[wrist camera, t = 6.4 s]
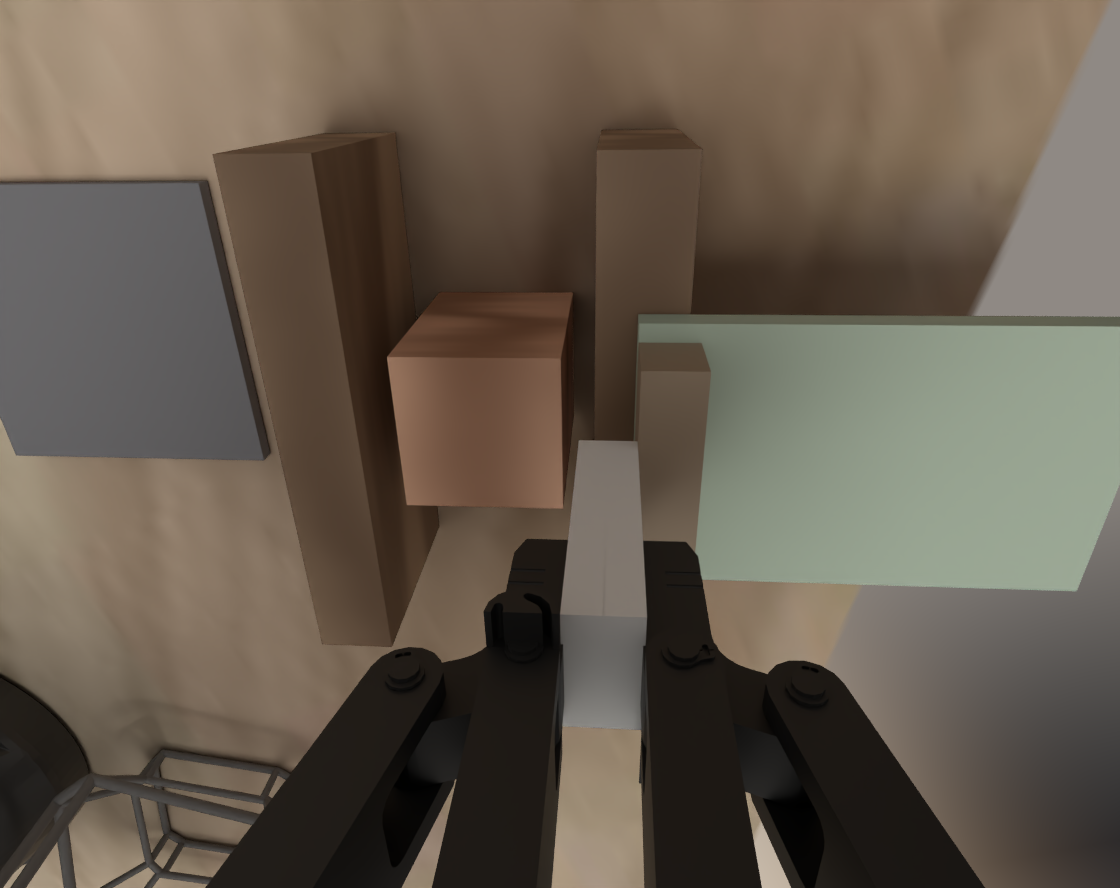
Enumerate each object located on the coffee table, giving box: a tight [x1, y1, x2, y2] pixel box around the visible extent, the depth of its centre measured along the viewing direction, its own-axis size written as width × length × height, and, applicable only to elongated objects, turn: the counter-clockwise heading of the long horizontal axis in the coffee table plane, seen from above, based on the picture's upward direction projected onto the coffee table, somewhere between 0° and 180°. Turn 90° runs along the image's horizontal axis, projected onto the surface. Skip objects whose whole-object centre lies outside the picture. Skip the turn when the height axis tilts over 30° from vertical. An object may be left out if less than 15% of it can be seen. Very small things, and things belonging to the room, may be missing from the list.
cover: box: [634, 314, 1120, 591], centre depth 19 cm, size 13×8×3 cm, turn 91°
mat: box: [0, 181, 270, 460], centre depth 28 cm, size 11×11×1 cm
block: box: [387, 292, 574, 509], centre depth 24 cm, size 5×5×7 cm
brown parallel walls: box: [213, 129, 703, 647], centre depth 24 cm, size 12×16×8 cm
